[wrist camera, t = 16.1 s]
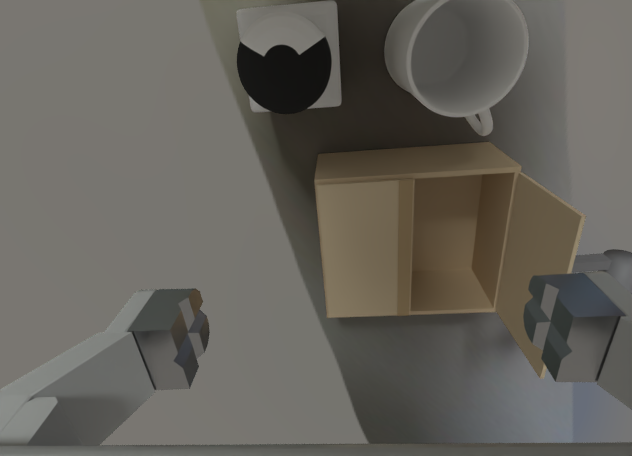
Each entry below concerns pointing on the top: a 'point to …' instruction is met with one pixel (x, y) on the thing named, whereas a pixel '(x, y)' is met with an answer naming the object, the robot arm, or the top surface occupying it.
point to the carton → (414, 228)
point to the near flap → (546, 256)
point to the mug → (458, 55)
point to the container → (290, 56)
